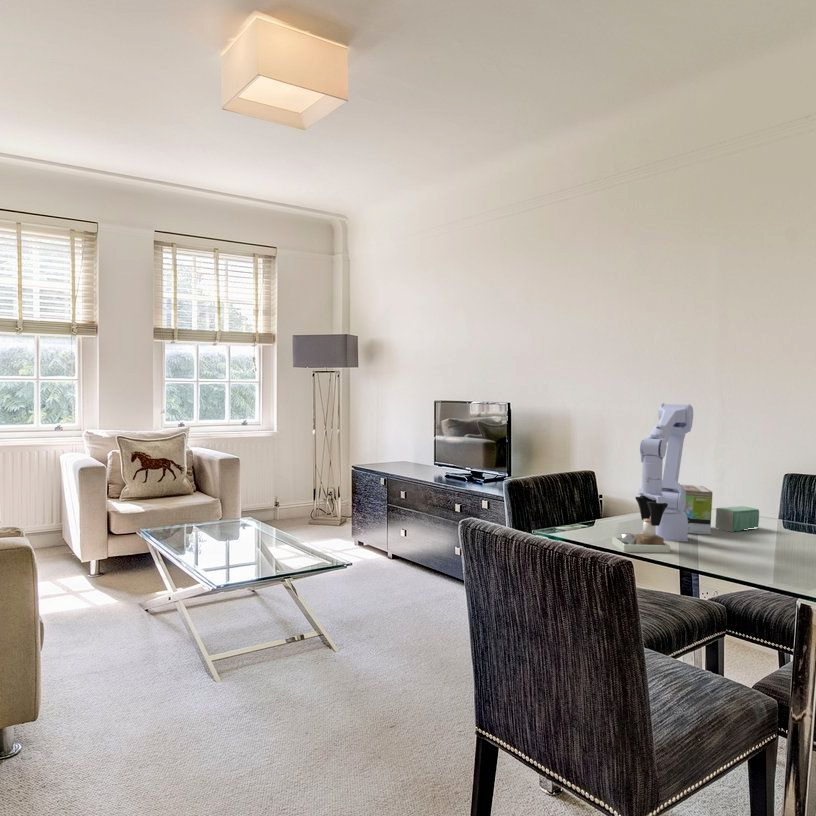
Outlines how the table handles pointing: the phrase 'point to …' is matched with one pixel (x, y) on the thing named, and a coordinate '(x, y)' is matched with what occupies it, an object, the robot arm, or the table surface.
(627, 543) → the tin
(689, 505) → the tea box
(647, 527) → the jar
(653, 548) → the white tray
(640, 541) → the block
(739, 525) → the box
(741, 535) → the table surface
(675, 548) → the table surface
